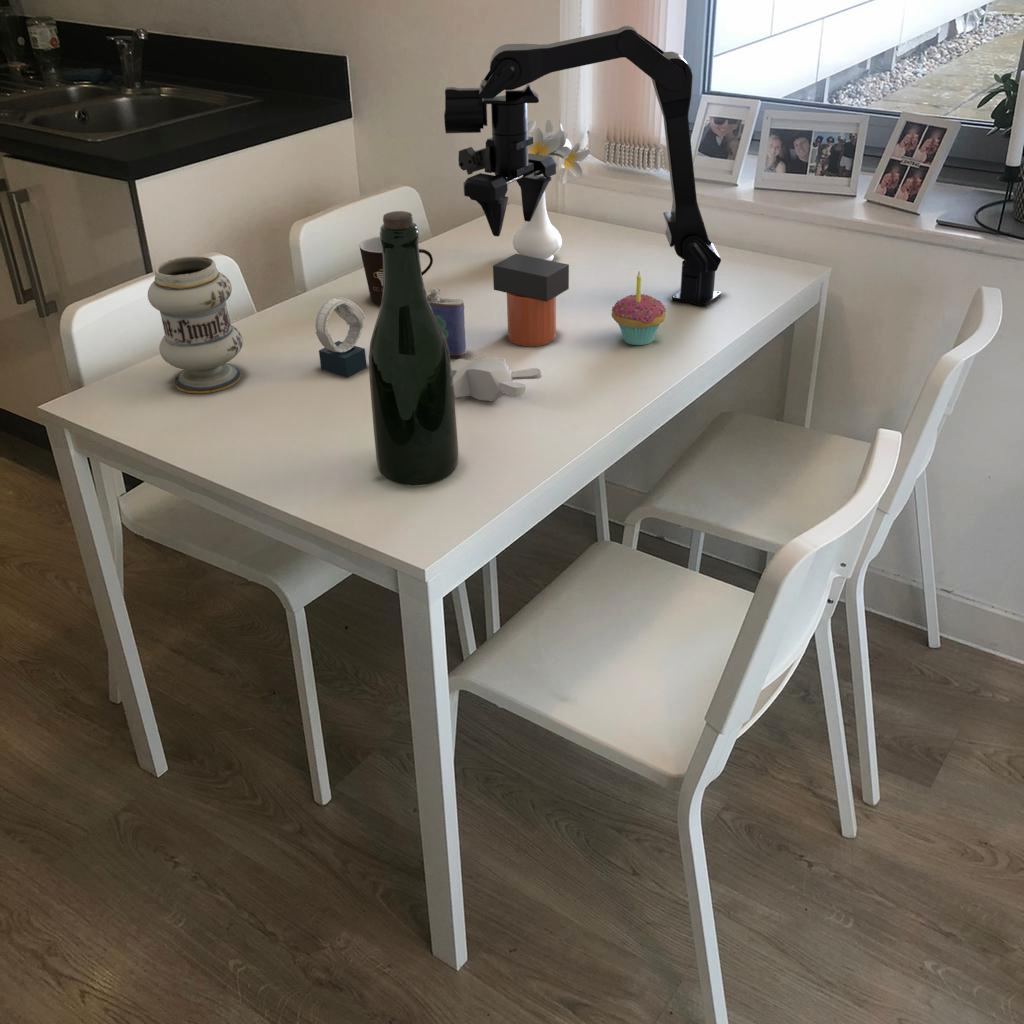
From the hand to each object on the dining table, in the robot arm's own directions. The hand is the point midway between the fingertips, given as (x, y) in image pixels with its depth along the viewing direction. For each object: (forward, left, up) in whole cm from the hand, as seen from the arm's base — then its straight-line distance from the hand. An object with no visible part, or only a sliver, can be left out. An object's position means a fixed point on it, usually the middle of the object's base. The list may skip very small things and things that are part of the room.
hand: (512, 228), depth 179 cm
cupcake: (+3, +26, -13) cm, 29 cm away
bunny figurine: (+32, +17, -13) cm, 39 cm away
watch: (+36, -7, -13) cm, 39 cm away
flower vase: (-21, -8, -13) cm, 26 cm away
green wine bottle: (+54, +22, -13) cm, 60 cm away
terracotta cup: (+11, +11, -13) cm, 20 cm away
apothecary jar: (+50, -22, -13) cm, 56 cm away
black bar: (+11, +11, -5) cm, 16 cm away
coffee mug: (+10, -18, -13) cm, 24 cm away
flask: (+24, +2, -13) cm, 27 cm away
